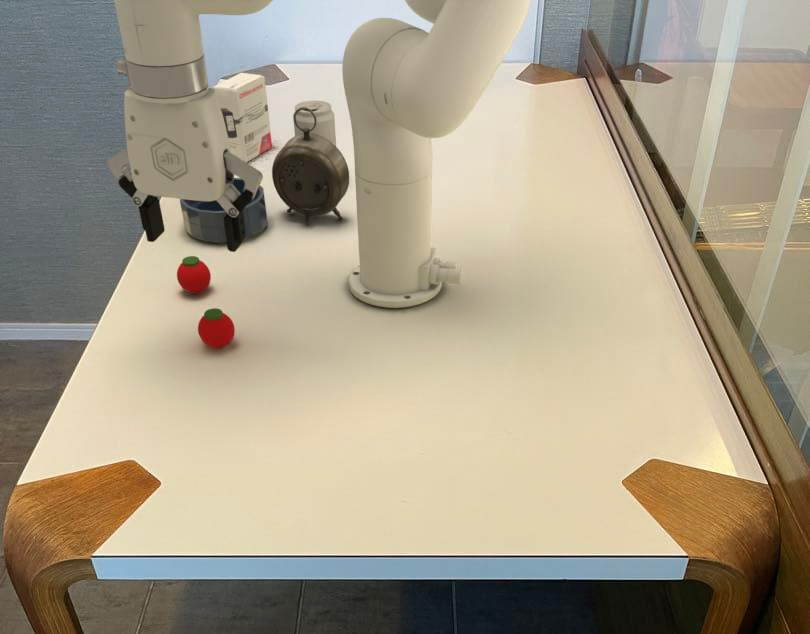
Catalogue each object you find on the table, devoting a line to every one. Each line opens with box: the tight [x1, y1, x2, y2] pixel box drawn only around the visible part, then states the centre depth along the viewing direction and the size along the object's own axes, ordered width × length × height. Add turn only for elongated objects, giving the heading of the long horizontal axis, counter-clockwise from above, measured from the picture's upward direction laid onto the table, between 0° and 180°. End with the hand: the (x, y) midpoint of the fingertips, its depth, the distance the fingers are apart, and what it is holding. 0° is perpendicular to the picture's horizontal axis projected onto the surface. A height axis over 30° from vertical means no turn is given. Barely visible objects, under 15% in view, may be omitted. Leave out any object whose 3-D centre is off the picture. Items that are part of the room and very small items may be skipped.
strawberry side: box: [176, 255, 212, 294], centre depth 114 cm, size 4×4×4 cm
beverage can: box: [292, 100, 337, 147], centre depth 136 cm, size 6×6×12 cm
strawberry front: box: [197, 307, 236, 349], centre depth 105 cm, size 4×4×4 cm
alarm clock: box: [271, 107, 350, 227], centre depth 125 cm, size 11×5×16 cm, turn 73°
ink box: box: [211, 72, 273, 164], centre depth 146 cm, size 8×5×12 cm, turn 152°
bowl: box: [179, 177, 269, 243], centre depth 128 cm, size 12×12×5 cm
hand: (196, 241), depth 97 cm, fingers open, 9 cm apart
